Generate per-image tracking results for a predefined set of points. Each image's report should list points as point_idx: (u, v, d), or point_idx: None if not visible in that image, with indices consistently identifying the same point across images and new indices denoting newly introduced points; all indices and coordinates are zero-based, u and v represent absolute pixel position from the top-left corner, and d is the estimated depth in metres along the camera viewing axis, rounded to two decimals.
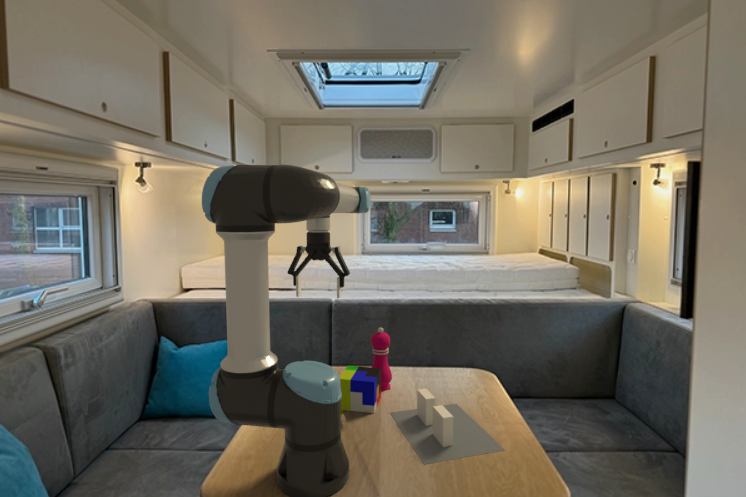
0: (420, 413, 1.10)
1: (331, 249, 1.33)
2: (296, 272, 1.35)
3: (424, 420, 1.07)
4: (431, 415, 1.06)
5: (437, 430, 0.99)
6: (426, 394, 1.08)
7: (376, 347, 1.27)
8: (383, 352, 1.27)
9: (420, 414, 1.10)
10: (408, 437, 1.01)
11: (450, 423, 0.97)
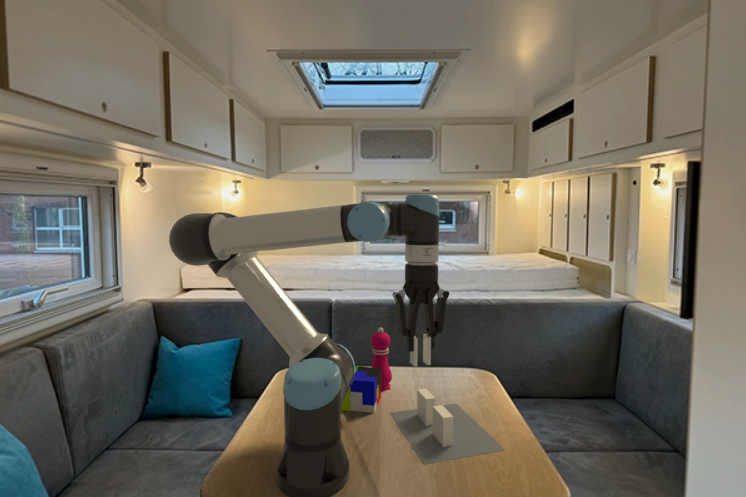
0: (420, 413, 1.10)
1: None
2: None
3: (424, 420, 1.07)
4: (431, 415, 1.06)
5: (437, 430, 0.99)
6: (426, 394, 1.08)
7: (376, 347, 1.27)
8: (383, 352, 1.27)
9: (420, 414, 1.10)
10: (408, 437, 1.01)
11: (450, 423, 0.97)
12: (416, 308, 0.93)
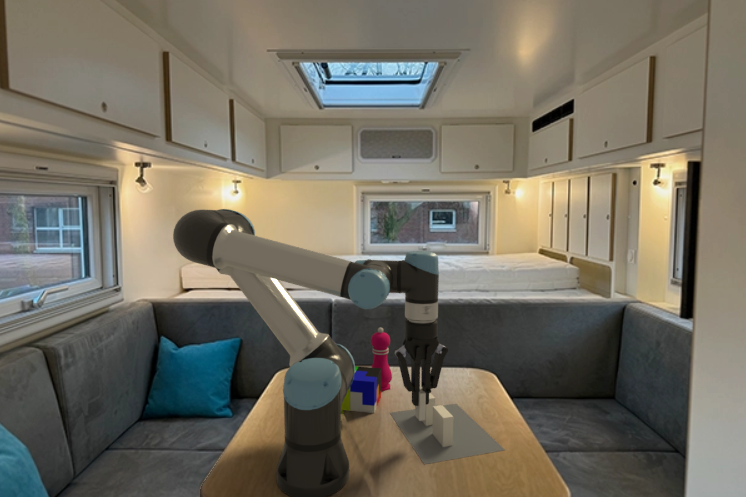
0: None
1: None
2: None
3: (424, 420, 1.07)
4: (431, 415, 1.06)
5: (437, 430, 0.99)
6: None
7: (376, 347, 1.27)
8: (383, 352, 1.27)
9: None
10: (408, 437, 1.01)
11: (450, 423, 0.97)
12: (418, 364, 0.95)
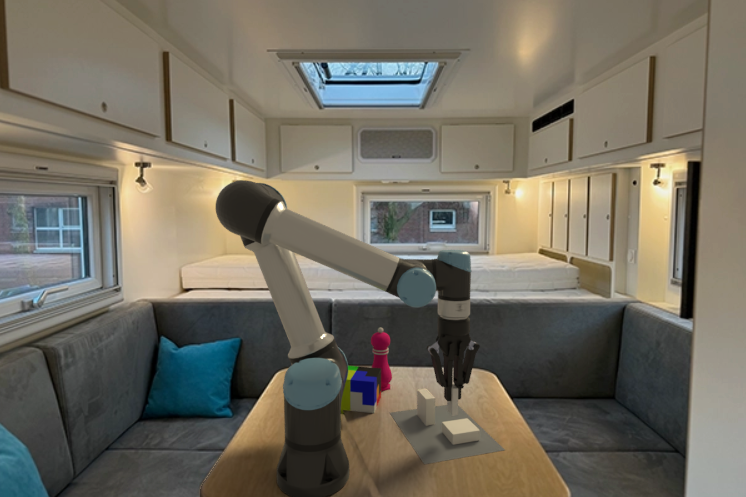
0: (420, 413, 1.10)
1: None
2: None
3: (424, 420, 1.07)
4: (431, 415, 1.06)
5: (456, 426, 1.01)
6: (426, 394, 1.08)
7: (376, 347, 1.27)
8: (383, 352, 1.27)
9: (420, 414, 1.10)
10: (408, 437, 1.01)
11: (473, 438, 0.99)
12: (451, 360, 0.97)
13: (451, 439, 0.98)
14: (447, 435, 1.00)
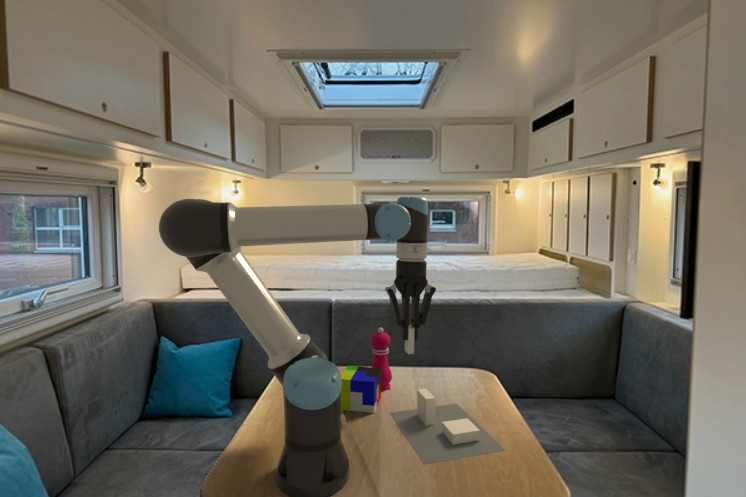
0: (420, 413, 1.10)
1: None
2: None
3: (424, 420, 1.07)
4: (431, 415, 1.06)
5: (456, 426, 1.01)
6: (426, 394, 1.08)
7: (376, 347, 1.27)
8: (383, 352, 1.27)
9: (420, 414, 1.10)
10: (408, 437, 1.01)
11: (473, 438, 0.99)
12: (407, 300, 1.02)
13: (451, 439, 0.98)
14: (447, 435, 1.00)
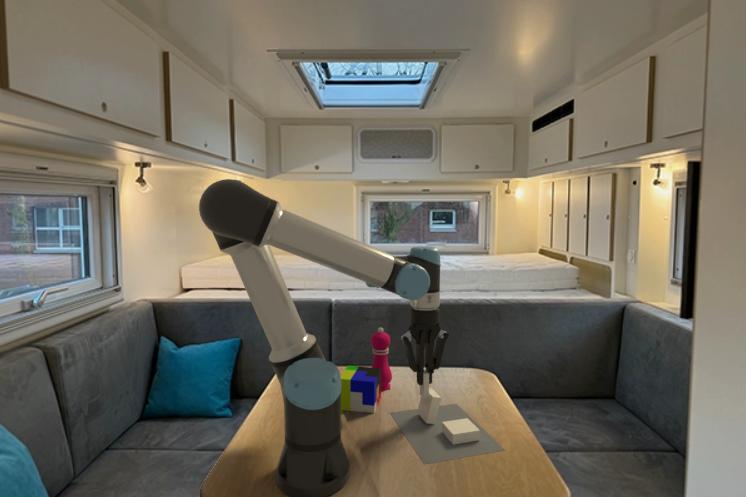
0: (421, 411, 1.10)
1: None
2: None
3: (425, 418, 1.07)
4: (433, 414, 1.07)
5: (456, 426, 1.01)
6: (432, 393, 1.09)
7: (376, 347, 1.27)
8: (383, 352, 1.27)
9: (421, 412, 1.10)
10: (408, 437, 1.01)
11: (473, 438, 0.99)
12: (422, 347, 1.06)
13: (451, 439, 0.98)
14: (447, 435, 1.00)
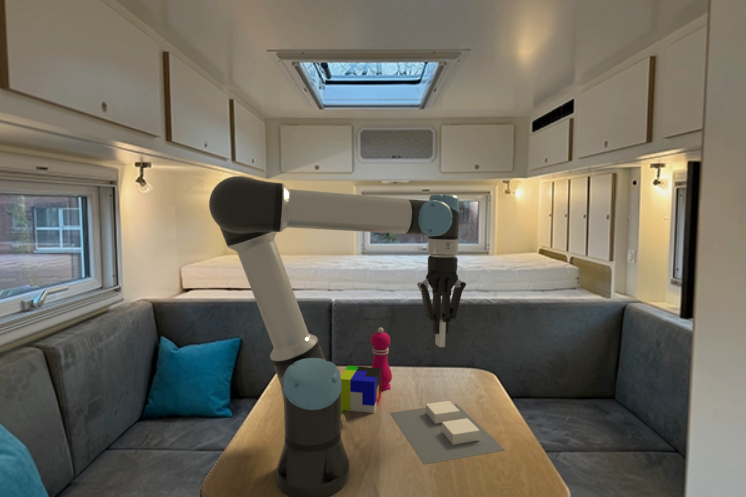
0: (433, 406, 1.11)
1: None
2: None
3: (436, 412, 1.08)
4: (443, 418, 1.08)
5: (456, 426, 1.01)
6: None
7: (376, 347, 1.27)
8: (383, 352, 1.27)
9: (432, 407, 1.11)
10: (408, 437, 1.01)
11: (473, 438, 0.99)
12: (439, 295, 1.06)
13: (451, 439, 0.98)
14: (447, 435, 1.00)
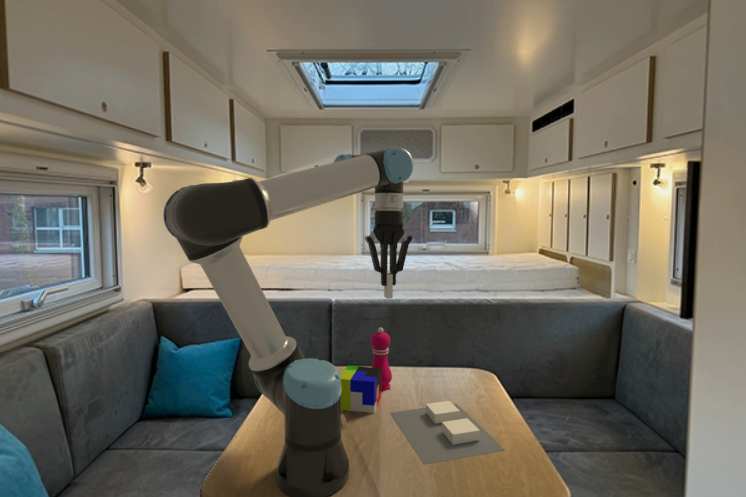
0: (433, 406, 1.11)
1: None
2: None
3: (436, 412, 1.08)
4: (443, 418, 1.08)
5: (456, 426, 1.01)
6: None
7: (376, 347, 1.27)
8: (383, 352, 1.27)
9: (432, 407, 1.11)
10: (408, 437, 1.01)
11: (473, 438, 0.99)
12: (385, 248, 1.10)
13: (451, 439, 0.98)
14: (447, 435, 1.00)
